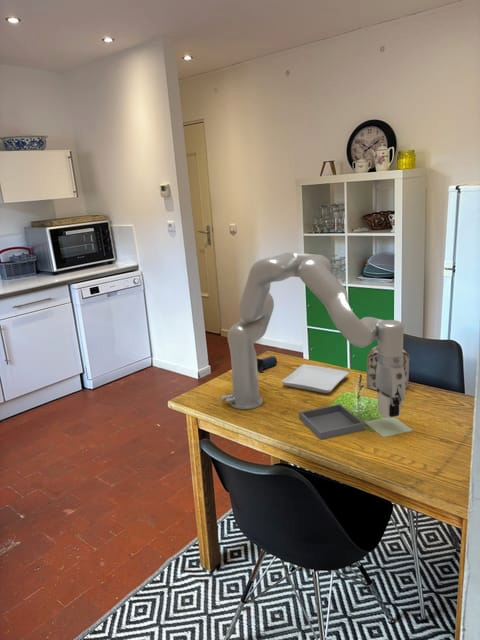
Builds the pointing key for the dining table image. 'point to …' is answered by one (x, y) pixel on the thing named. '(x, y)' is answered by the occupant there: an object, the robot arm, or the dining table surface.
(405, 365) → the decorative jar
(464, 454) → the dining table surface
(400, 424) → the mat
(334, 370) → the salad plate
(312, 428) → the bin
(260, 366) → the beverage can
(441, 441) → the dining table surface
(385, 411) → the labelled box
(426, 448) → the dining table surface
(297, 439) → the dining table surface
